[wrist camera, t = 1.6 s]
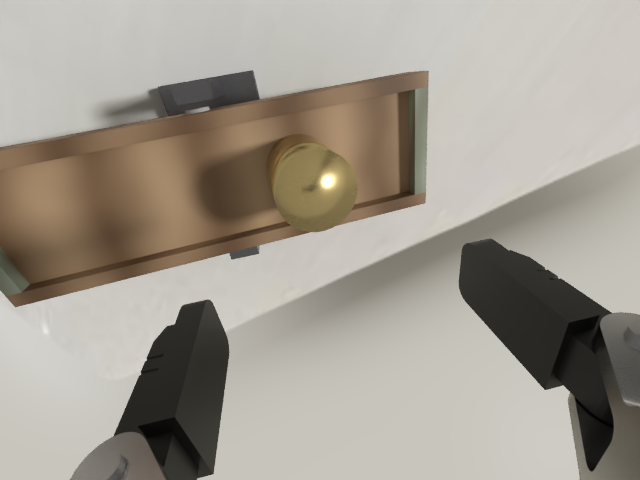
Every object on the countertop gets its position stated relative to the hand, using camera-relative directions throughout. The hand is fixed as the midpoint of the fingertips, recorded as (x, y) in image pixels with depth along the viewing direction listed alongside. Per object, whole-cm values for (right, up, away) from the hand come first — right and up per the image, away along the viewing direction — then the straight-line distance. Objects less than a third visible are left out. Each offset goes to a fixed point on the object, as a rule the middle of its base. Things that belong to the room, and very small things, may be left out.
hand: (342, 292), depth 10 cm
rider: (-2, +7, +13) cm, 15 cm away
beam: (-8, +6, +13) cm, 17 cm away
